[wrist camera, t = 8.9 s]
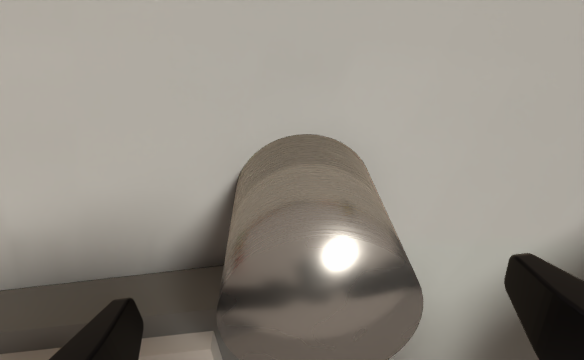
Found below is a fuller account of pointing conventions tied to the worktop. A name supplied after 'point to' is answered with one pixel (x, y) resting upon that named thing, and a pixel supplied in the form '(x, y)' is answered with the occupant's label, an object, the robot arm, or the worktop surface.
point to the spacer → (314, 260)
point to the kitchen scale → (98, 294)
